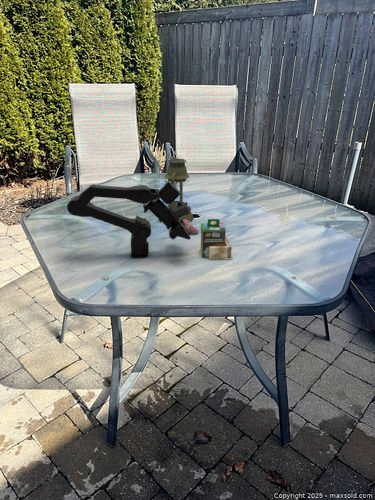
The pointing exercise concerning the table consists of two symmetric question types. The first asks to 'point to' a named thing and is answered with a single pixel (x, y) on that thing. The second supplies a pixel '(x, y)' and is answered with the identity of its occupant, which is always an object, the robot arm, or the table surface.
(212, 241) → the chalk box
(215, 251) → the wooden square frame
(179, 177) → the lantern
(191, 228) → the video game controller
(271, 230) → the table surface
